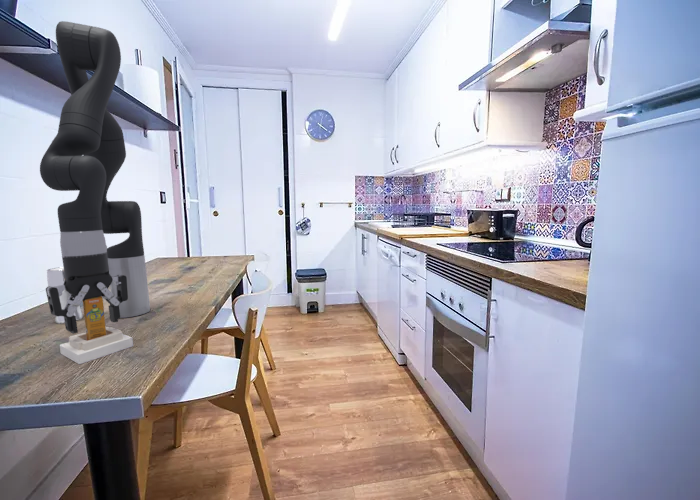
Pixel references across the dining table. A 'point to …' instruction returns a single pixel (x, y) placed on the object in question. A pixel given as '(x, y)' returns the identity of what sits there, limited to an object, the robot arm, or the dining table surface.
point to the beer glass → (56, 279)
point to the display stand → (95, 345)
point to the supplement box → (94, 318)
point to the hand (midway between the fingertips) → (94, 326)
